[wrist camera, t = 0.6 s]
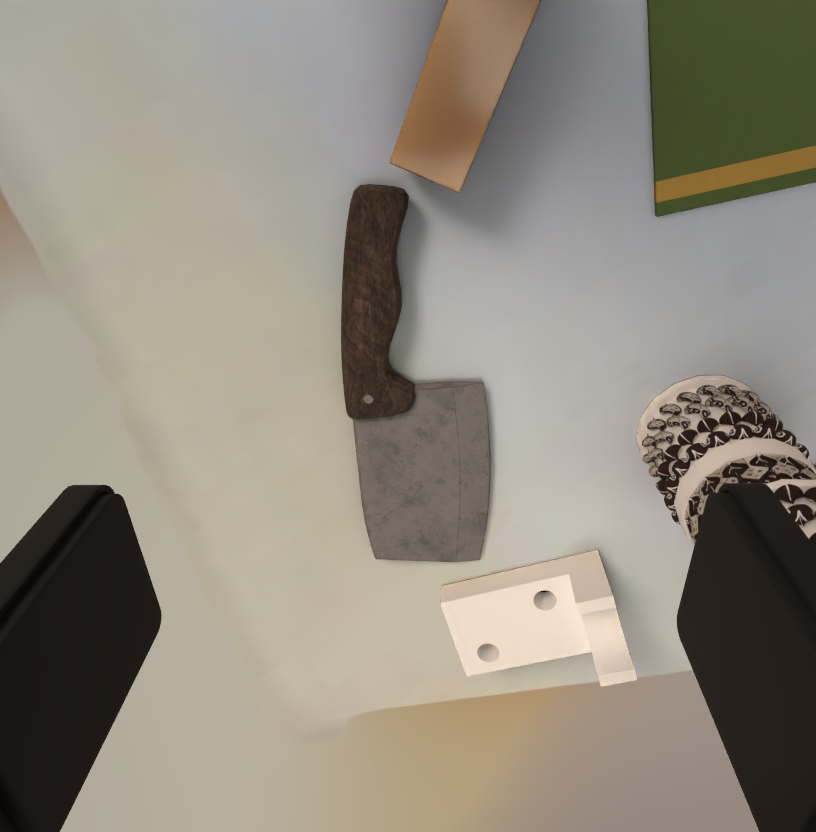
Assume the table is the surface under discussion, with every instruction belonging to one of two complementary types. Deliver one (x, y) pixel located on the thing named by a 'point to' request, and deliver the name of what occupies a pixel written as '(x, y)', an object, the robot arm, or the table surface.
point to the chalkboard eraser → (461, 87)
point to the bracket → (538, 618)
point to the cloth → (731, 99)
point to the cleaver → (406, 409)
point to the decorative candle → (722, 450)
